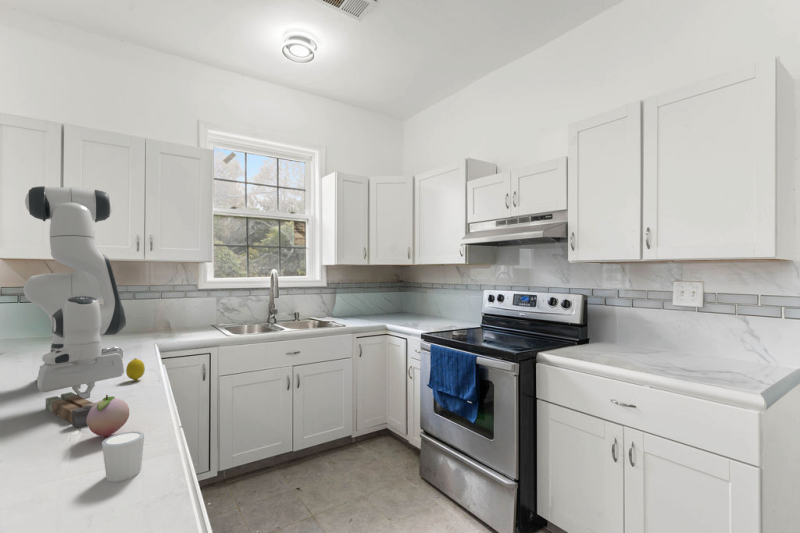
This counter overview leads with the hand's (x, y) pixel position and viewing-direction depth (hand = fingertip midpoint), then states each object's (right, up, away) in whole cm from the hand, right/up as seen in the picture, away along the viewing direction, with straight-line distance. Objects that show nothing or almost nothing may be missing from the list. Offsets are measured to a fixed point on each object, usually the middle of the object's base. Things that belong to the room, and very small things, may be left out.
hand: (83, 398), depth 119 cm
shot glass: (+40, -2, -40) cm, 57 cm away
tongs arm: (+2, -2, -5) cm, 5 cm away
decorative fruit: (+24, -2, -23) cm, 33 cm away
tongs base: (+3, -2, -8) cm, 8 cm away
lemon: (-2, -2, +26) cm, 26 cm away
